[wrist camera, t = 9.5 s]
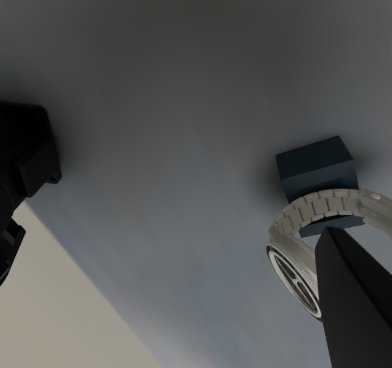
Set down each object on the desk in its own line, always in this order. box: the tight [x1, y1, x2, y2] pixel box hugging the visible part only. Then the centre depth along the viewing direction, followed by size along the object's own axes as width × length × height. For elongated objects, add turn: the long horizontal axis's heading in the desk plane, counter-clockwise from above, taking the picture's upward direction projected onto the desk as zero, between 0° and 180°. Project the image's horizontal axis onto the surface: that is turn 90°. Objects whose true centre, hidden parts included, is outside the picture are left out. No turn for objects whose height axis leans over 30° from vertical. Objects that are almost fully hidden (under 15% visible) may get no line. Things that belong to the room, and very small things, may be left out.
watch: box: [266, 136, 392, 323], centre depth 18 cm, size 6×8×11 cm
